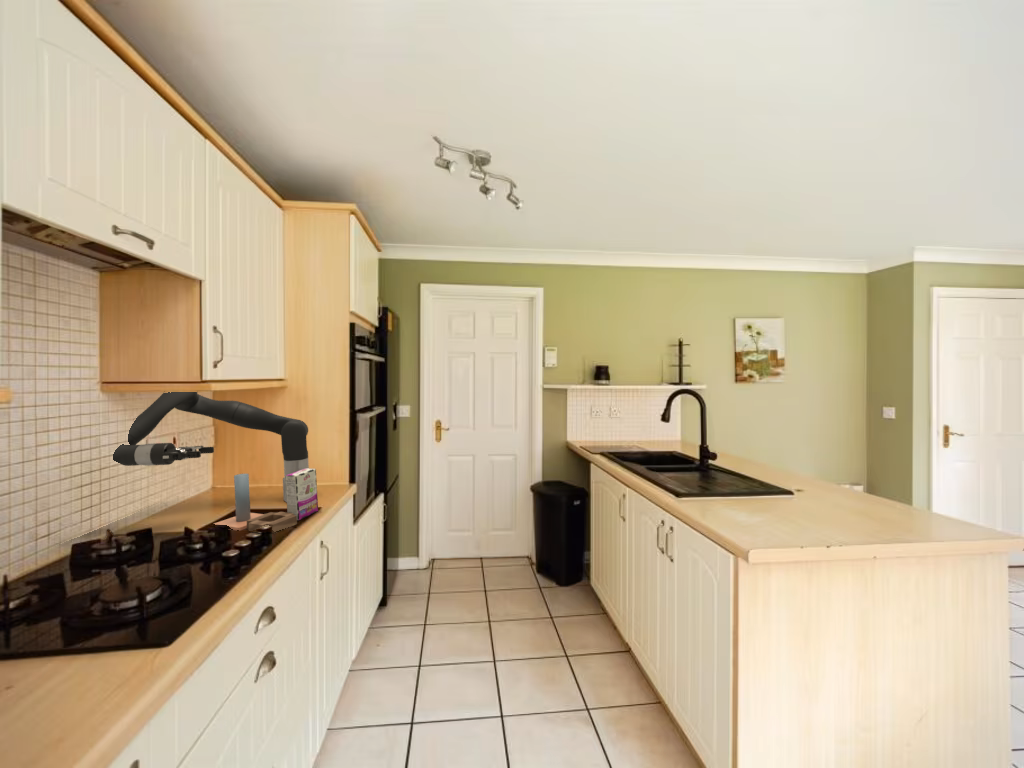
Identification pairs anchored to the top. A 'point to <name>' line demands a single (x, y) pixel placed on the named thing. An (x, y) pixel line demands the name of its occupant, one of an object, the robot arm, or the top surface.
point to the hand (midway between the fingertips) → (207, 452)
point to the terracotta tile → (237, 525)
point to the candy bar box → (302, 493)
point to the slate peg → (242, 497)
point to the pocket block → (273, 521)
